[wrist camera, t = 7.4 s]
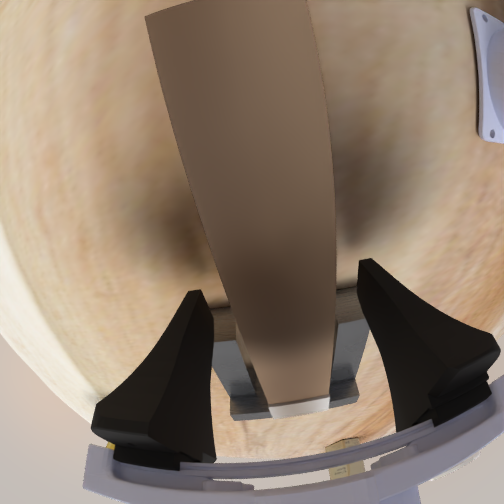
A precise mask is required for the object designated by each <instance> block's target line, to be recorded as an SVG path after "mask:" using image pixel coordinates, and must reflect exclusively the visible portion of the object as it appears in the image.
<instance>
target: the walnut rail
mask: <svg viewBox="0 0 504 504" xmlns="http://www.w3.org/2000/svg"><path fill="white" fill-rule="evenodd" d="M145 21H146V25H147V30H148V34H149V39H150V43H151V47H152V51H153V55H154V59H155V64H156V68H157V72H158V75H159V79H160V83H161V87H162V91H163V95H164V98H165V102H166V106H167V109H168V113H169V117H170V120H171V124H172V127H173V131H174V134H175V138H176V141H177V145H178V148H179V152H180V155H181V158H182V162H183V165H184V168H185V172H186V175H187V178H188V181H189V185H190V188H191V191H192V194H193V197H194V201H195V204H196V207H197V210H198V213H199V216H200V219H201V222H202V225H203V228H204V231H205V234H206V237H207V240H208V243H209V246H210V249H211V252H212V255H213V258H214V261H215V264H216V267H217V270H218V272H219V275H220V278H221V281H222V284H223V287H224V289H225V292H226V295H227V298H228V300H229V303H230V306H231V309H232V311H233V314H234V317H235V320H236V322H237V325H238V328H239V330H240V333H241V336H242V338H243V341H244V343H245V346H246V349H247V351H248V354H249V356H250V359H251V361H252V364H253V367H254V369H255V372H256V374H257V377H258V379H259V382H260V384H261V386H262V389H263V391H264V394H265V396H266V399H267V401H268V408H269V410H270V413H271V415H272V417H273V419H280V418H287V417H294V416H300V415H306V414H311V413H317V412H322V411H326V410H328V408H329V401H330V394H329V387H330V377H331V367H332V356H333V343H334V327H335V307H336V211H335V190H334V175H333V162H332V150H331V140H330V130H329V122H328V114H327V106H326V99H325V92H324V85H323V79H322V73H321V67H320V61H319V56H318V51H317V46H316V41H315V36H314V31H313V27H312V22H311V18H310V14H309V10H308V6H307V2H306V0H194V1H190V2H187V3H183V4H180V5H176V6H173V7H170V8H167V9H164V10H161V11H158V12H155V13H153V14H150V15H147V16H145Z"/></svg>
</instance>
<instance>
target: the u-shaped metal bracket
mask: <svg viewBox="0 0 504 504" xmlns="http://www.w3.org/2000/svg"><path fill="white" fill-rule="evenodd" d="M356 291H357V287H352V288H347V289H341V290H336V307H335V327H334V343H333V356H332V367H331V377H330V387H329V394H330V401H329V408H334V407H339V406H343V405H347V404H351V403H355V402H357V400H358V398H359V391H358V387H357V384H356V380H355V377H356V374H357V371H358V368H359V365H360V361H361V358H362V355H363V351H364V348H365V345H366V341H367V337H368V334H369V330H370V328H369V326H368V323H367V321H366V319H365V317H364V314H363V312H362V309H361V306H360V303H359V300H358V296H357V293H356ZM210 311H211V313H212V316H213V318H214V348H213V358H212V367H213V369H214V371H215V372H216V374H217V376H218V378H219V379H220V381H221V383H222V384H223V386H224V388H225V390H226V391H227V393H228V395H229V396H230V415H231V417H232V418H233V419H234V421H240V420H253V419H264V418H273V417H272V415H271V413H270V410H269V408H268V401H267V399H266V396H265V394H264V391H263V389H262V386H261V384H260V382H259V379H258V377H257V374H256V372H255V369H254V367H253V364H252V361H251V359H250V356H249V354H248V351H247V349H246V346H245V343H244V341H243V338H242V336H241V333H240V330H239V328H238V325H237V322H236V320H235V317H234V314H233V311H232V309H231V307H226V308H218V309H210ZM329 408H328V409H329Z"/></svg>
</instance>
